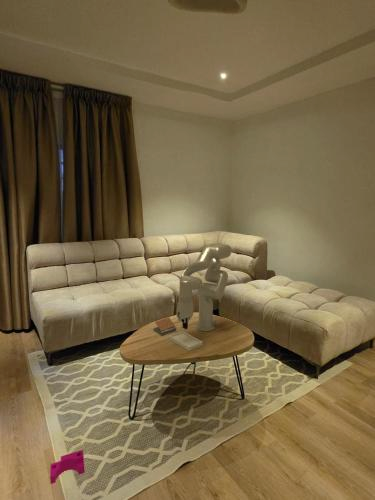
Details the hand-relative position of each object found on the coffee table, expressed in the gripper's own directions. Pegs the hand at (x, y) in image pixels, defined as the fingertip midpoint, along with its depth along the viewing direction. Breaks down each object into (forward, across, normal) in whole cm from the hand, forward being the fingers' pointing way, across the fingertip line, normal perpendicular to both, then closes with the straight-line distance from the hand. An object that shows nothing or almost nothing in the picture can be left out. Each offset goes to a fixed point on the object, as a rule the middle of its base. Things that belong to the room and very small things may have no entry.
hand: (185, 328), depth 183 cm
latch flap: (+7, 0, -16) cm, 18 cm away
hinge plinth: (+9, 0, -21) cm, 23 cm away
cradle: (+9, -1, 0) cm, 9 cm away
